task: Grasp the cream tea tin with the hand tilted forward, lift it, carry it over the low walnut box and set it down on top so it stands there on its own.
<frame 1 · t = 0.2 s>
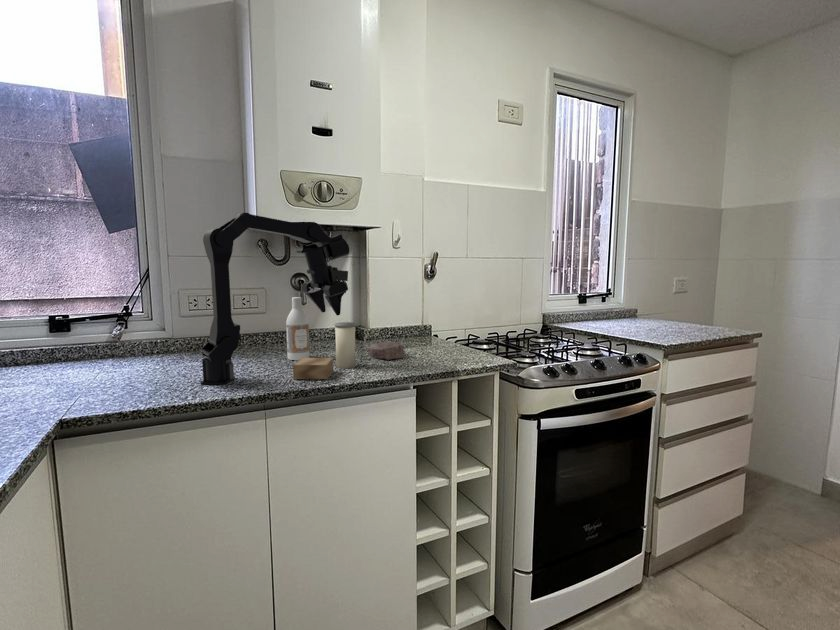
hand: (331, 313, 135), 15 cm above the worktop, tool tilted 15°, fingers open, 9 cm apart
walnut box: (314, 375, 122), on the worktop
stone: (385, 357, 146), on the worktop
bath foam: (298, 359, 142), on the worktop
tea tin: (345, 366, 133), on the worktop
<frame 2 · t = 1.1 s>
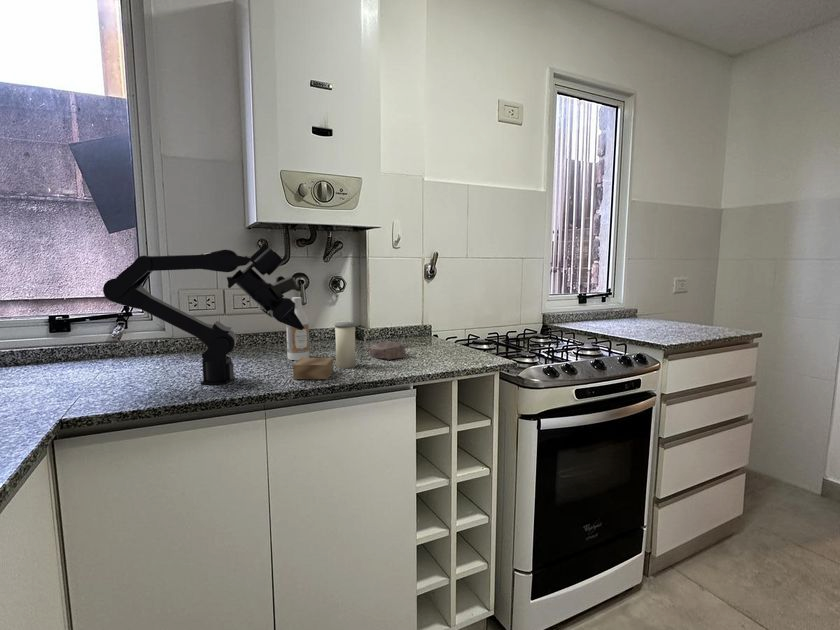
hand: (298, 326, 123), 13 cm above the worktop, tool tilted 45°, fingers open, 9 cm apart
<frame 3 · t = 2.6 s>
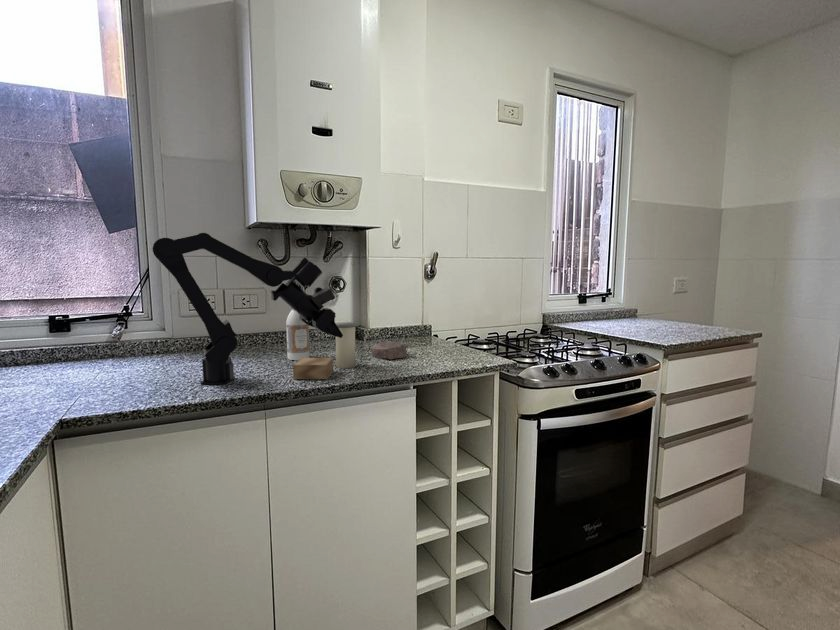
hand: (336, 334, 130), 10 cm above the worktop, tool tilted 45°, fingers open, 9 cm apart
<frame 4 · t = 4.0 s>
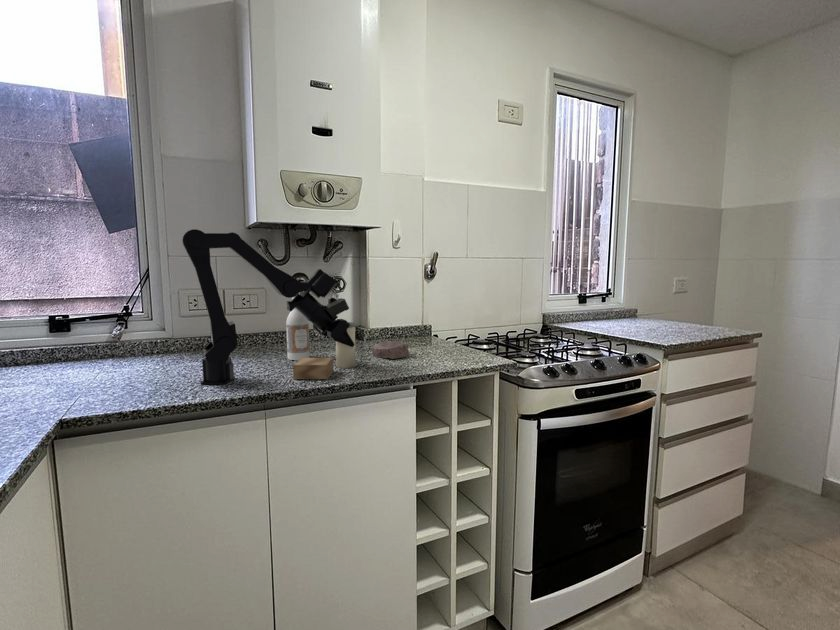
hand: (349, 344, 132), 7 cm above the worktop, tool tilted 45°, fingers closed on tea tin, 6 cm apart
tea tin: (345, 365, 133), on the worktop, touching gripper
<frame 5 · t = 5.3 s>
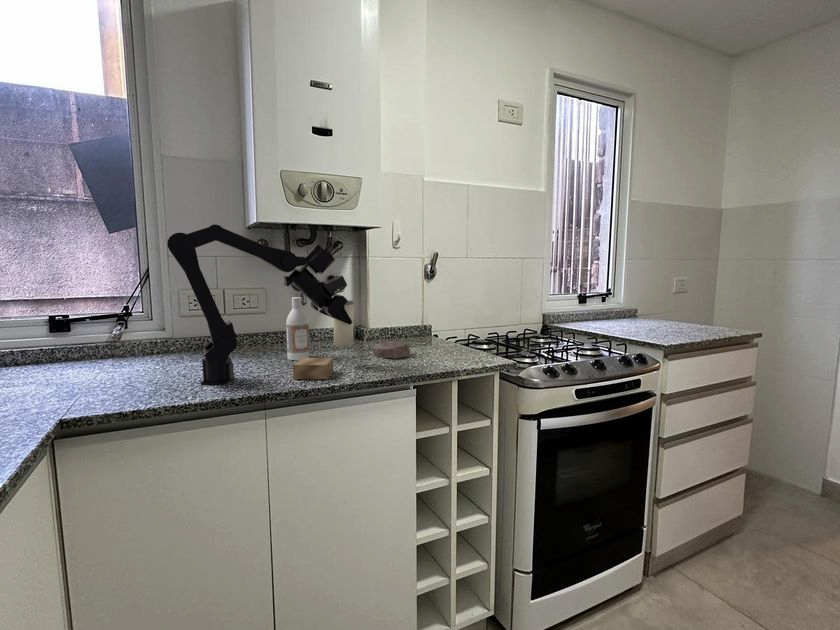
hand: (347, 322, 131), 13 cm above the worktop, tool tilted 45°, fingers closed on tea tin, 6 cm apart
tea tin: (343, 344, 131), point 7 cm above the worktop, touching gripper
when the fingers open (11 cm above the worktop, at t = 6.9 s): tea tin stays where it is, resting on walnut box.
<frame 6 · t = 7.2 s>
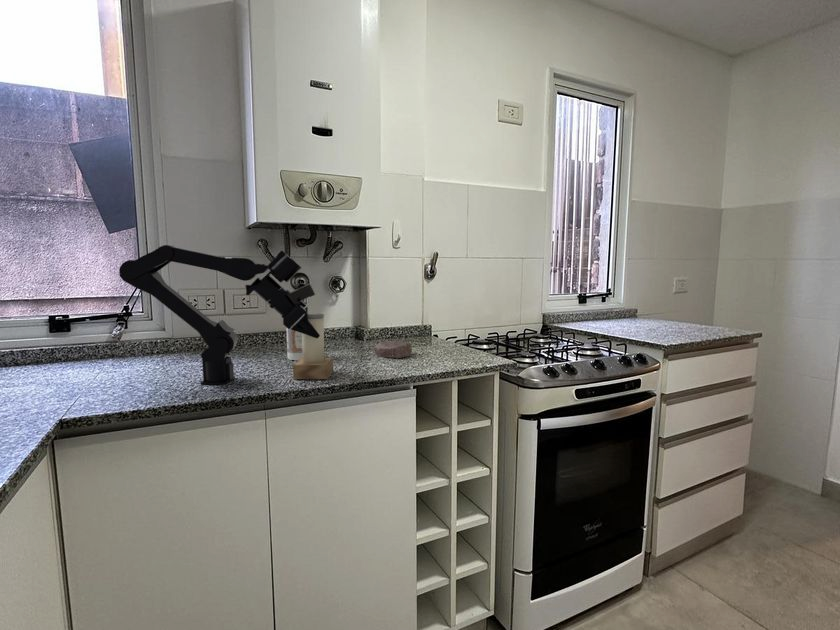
hand: (318, 334, 121), 12 cm above the worktop, tool tilted 45°, fingers open, 9 cm apart
tea tin: (313, 361, 121), point 4 cm above the worktop, touching walnut box
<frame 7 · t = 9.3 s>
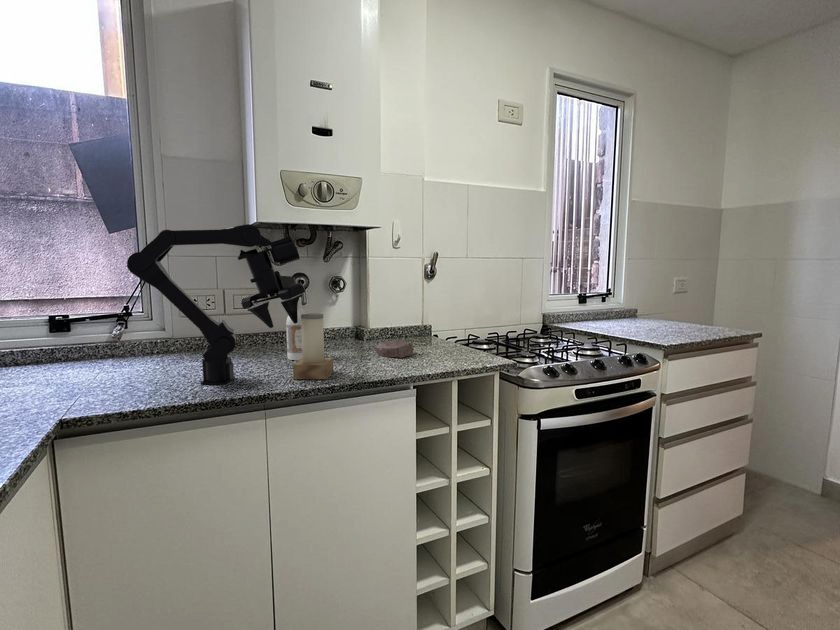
hand: (283, 325, 120), 14 cm above the worktop, tool tilted 20°, fingers open, 9 cm apart
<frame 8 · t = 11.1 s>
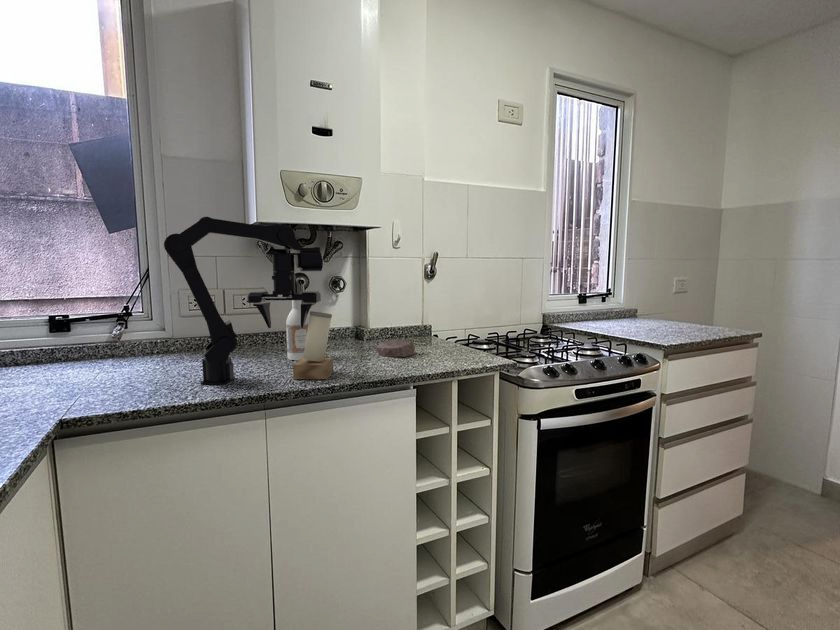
hand: (286, 327, 122), 13 cm above the worktop, tool pointing down, fingers open, 9 cm apart
tea tin: (313, 359, 121), point 5 cm above the worktop, tilted 11°, touching gripper, walnut box
at the end: tea tin inside the target area on the walnut box (0.0 cm from its centre), point 4.6 cm above the walnut box's base; tea tin tilted 11°; the gripper is holding nothing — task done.
